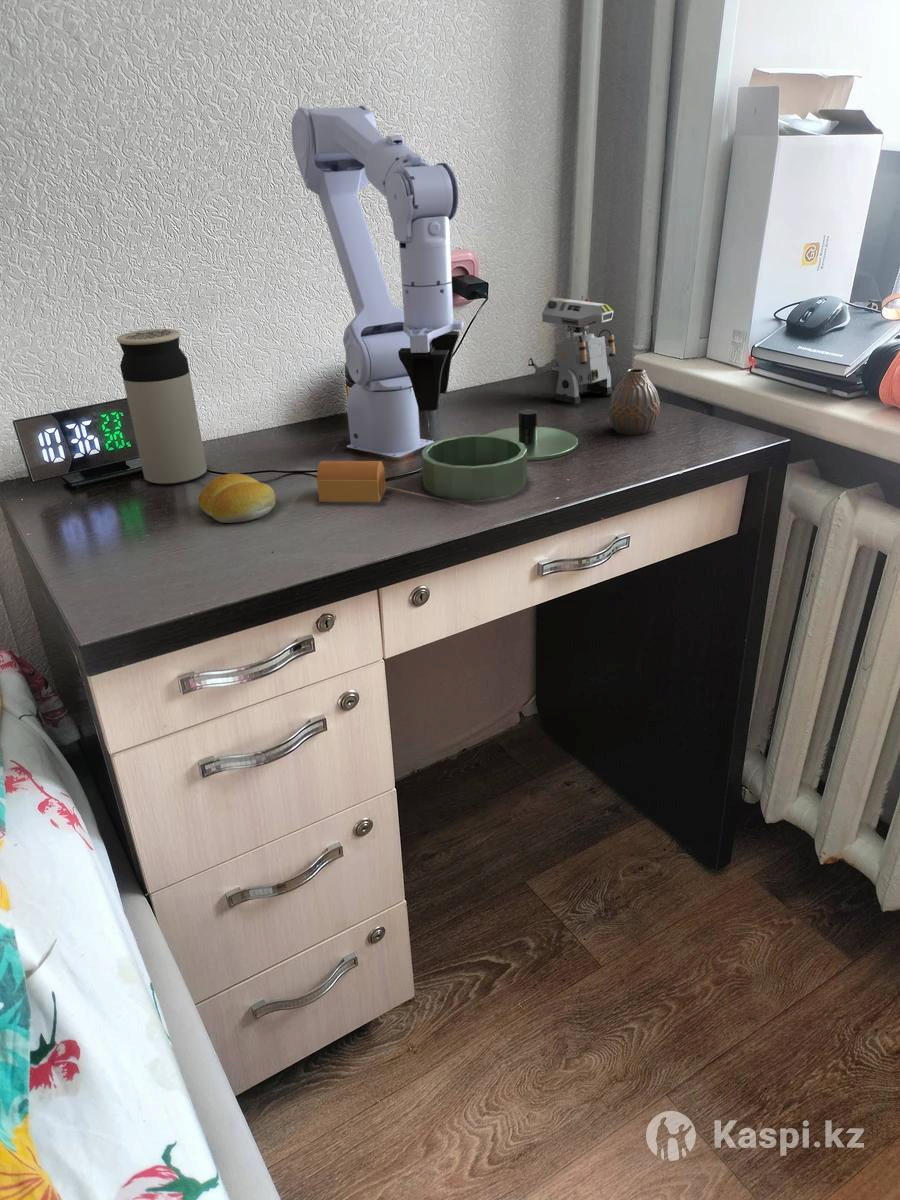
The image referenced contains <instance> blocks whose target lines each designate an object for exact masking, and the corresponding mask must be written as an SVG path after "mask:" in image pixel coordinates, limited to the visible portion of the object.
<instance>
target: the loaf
mask: <svg viewBox="0 0 900 1200" xmlns="http://www.w3.org/2000/svg"><path fill="white" fill-rule="evenodd" d="M385 473H386V472H385V467H384V463H383V461H381V460H320V461H319V463H318V466H317V471H316V487H317V493H318V502H321V503H322V502H323V503H327V502H329V503H380V501H381V499H382V498H383V496H384V494H385V493H386V490H387V486H386V474H385Z"/></svg>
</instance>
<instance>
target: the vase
mask: <svg viewBox="0 0 900 1200" xmlns="http://www.w3.org/2000/svg"><path fill="white" fill-rule="evenodd" d="M660 408H661V402H660V397H659V392H658V391H657V389H656V387H655V386H654V384H653V382H652V381H651V380H650V379H649V377H648V374H647V372H646V370H645V369H643V368H634V367H633V368H628V369H627V370H626V372H625V374H624V376H623V377H622V379H621V380H620V381H619V383H618V384H617V385H615V388H613V389H612V393H611V395H610V397H609V401H608V418H609V423H610V425H611V427H612V429H613V430H614V431H615V432H616V433H618V434H621V435H626V436H640V435H641V436H642V435H646V434H648V433H651V431H652V430H653V429H654V428H655V426H656V425H657V422H658V420H659V415H660V411H661V410H660Z"/></svg>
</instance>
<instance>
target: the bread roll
mask: <svg viewBox="0 0 900 1200" xmlns="http://www.w3.org/2000/svg"><path fill="white" fill-rule="evenodd" d="M197 500H198V506H199V508H200V509H201V510H202V511H203V512H204V513H205V514H206V515H208V516H209V517H212V519H214V521H217V522H219V523H223V524H232V523H245V522H250V521H254V520H258V519H260V518H262V517H264V516H266V515H267V514H269V513H270V512H271V511H272V510H273V509H274V507H275V506H276V494H275V491H274V489H273V488H272V487H271V486H270V485H268V484H267V483H264V482H260V481H258V480H257V479H256V478H253V477H251V476H249V475H247V474H243V473H226V474H222V475H219V476H217V477H214V478H213V479H212V480H210V481H209V482H208V483H207V484H206V485H205V486H204V487H203V488H202V490H201V491H200V493H199V495H198V499H197Z"/></svg>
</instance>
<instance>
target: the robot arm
mask: <svg viewBox="0 0 900 1200" xmlns="http://www.w3.org/2000/svg"><path fill="white" fill-rule="evenodd" d="M291 140H292V141H291V142H292V151H293V154H294V157H295V160H296V163H297V167H298V170H299V173H300V176H301V179H302V180H303V183H304V186H305V189H308V190H309V191H311V192H313V193H314V194H316V195H317V196H318V199H319V203H320V205H321V209H322V211H323V215H324V218H325V221H326V224H327V227H328V230H329V233H330V237H331V240H332V243H333V246H334V250H335V252H336V255H337V258H338V259H337V260H338V262H339V266H340V268H341V271H342V274H343V277H344V280H345V285H346V287H347V290H348V293H349V297H350V299H351V302H352V307H353V308H354V312H355V316H354V317H353V318H352V320H350V322H349V323H348V324H347V326H346V327H345V330H344V332H343V338H342V343H343V347H344V352H345V362H346V367H347V370H348V374H349V376H350V378H351V380H352V381H353V382H354V384H353V385H352V386H351V387H350V388H349V391H348V394H347V398H346V412H347V421H348V422H347V423H348V432H349V442H350V444H348V445H346V448H349V449H354V450H359V451H363V452H368V453H372V454H378V455H383V456H387V457H392V458H401V457H403V456H405V455H407V454H410V453H412V452H414V451H416V450H419V449H421V448H425V447H426V446H427V445H429V444H431V443H434V441H433V440H431V439H424V438H421V435H420V434H421V433H420V418H419V417H420V415H419V411H437V410H438V406H439V402H440V395H442V394H446V393H447V391H448V386H449V379H450V373H451V365H452V359H453V354H454V352H455V351H454V350H455V348H456V344H457V342H458V339H459V338H460V331H459V330H463V329H464V327H465V321H463V320H454V304H453V303H454V300H453V299H454V298H453V278H452V253H451V229H450V221H451V220H453V219H454V218H455V216H456V214H457V210H458V207H459V200H460V199H459V186H458V181H457V178H456V175H455V173H454V171H453V168H451V167H450V165H449V164H448V163H447V162H437V163H436V164H433V165H430V163H428V162H427V161H426V160H424V159H423V158H422V156H421V155H420V154H419V153H418V152H415V151H414V150H412V149H411V148H410V147H409V146H408V145H406V143H404V138H403V137H402V136H401V135H399V134H393V135H392V134H391V135H387V136H385V137H384V136H383V135H382V134H381V133H380V132H379V130H378V127H377V122H376V118H375V114H374V112H373V110H370V109H369V107H368V106H366V105H359V106H355V107H354V106H353V107H321V108H320V107H319V108H318V107H317V108H307V107H301V106H299V107H298V108H297V109H296V110H295V112H294V114H293V116H292V118H291ZM369 184H371V185H372V186H373V187H374V188H375V189H376V190H377V191H378V192H379V193H380V194H381V195H382V196H383V197H384V198H385V199H386V204H387V210H388V213H389V216H390V218H391V222H392V229H393V236H394V239H395V241H397V242H398V245H399V246H398V247H399V259H400V274H401V275H400V276H401V287H402V288H401V289H402V291H401V292H402V307H403V308H401V307H398V306H397V305H395V304H393V301H392V299H391V295H390V293H389V290H388V286H387V283H386V280H385V277H384V274H383V271H382V267H381V264H380V261H379V258H378V254H377V252H376V249H375V245H374V243H373V239H372V237H371V233H370V230H369V227H368V223H367V221H366V217H365V214H364V212H363V209H362V205H361V202H360V199H359V196H358V195H359V192H360V191H361V190H363V189H364V188H365V187H367V186H368V185H369Z"/></svg>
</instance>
